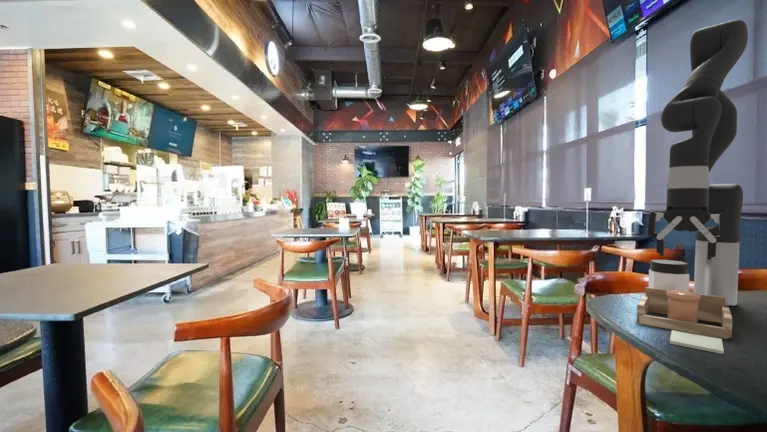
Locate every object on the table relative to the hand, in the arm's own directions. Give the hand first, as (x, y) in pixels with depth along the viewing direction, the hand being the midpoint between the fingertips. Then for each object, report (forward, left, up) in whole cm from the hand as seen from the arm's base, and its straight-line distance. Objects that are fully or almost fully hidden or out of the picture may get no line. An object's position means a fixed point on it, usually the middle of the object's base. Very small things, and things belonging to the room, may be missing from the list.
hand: (684, 257), depth 87 cm
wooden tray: (0, 0, -15) cm, 15 cm away
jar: (-16, -3, -16) cm, 23 cm away
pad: (+14, +3, -15) cm, 21 cm away
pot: (0, 0, -15) cm, 15 cm away
